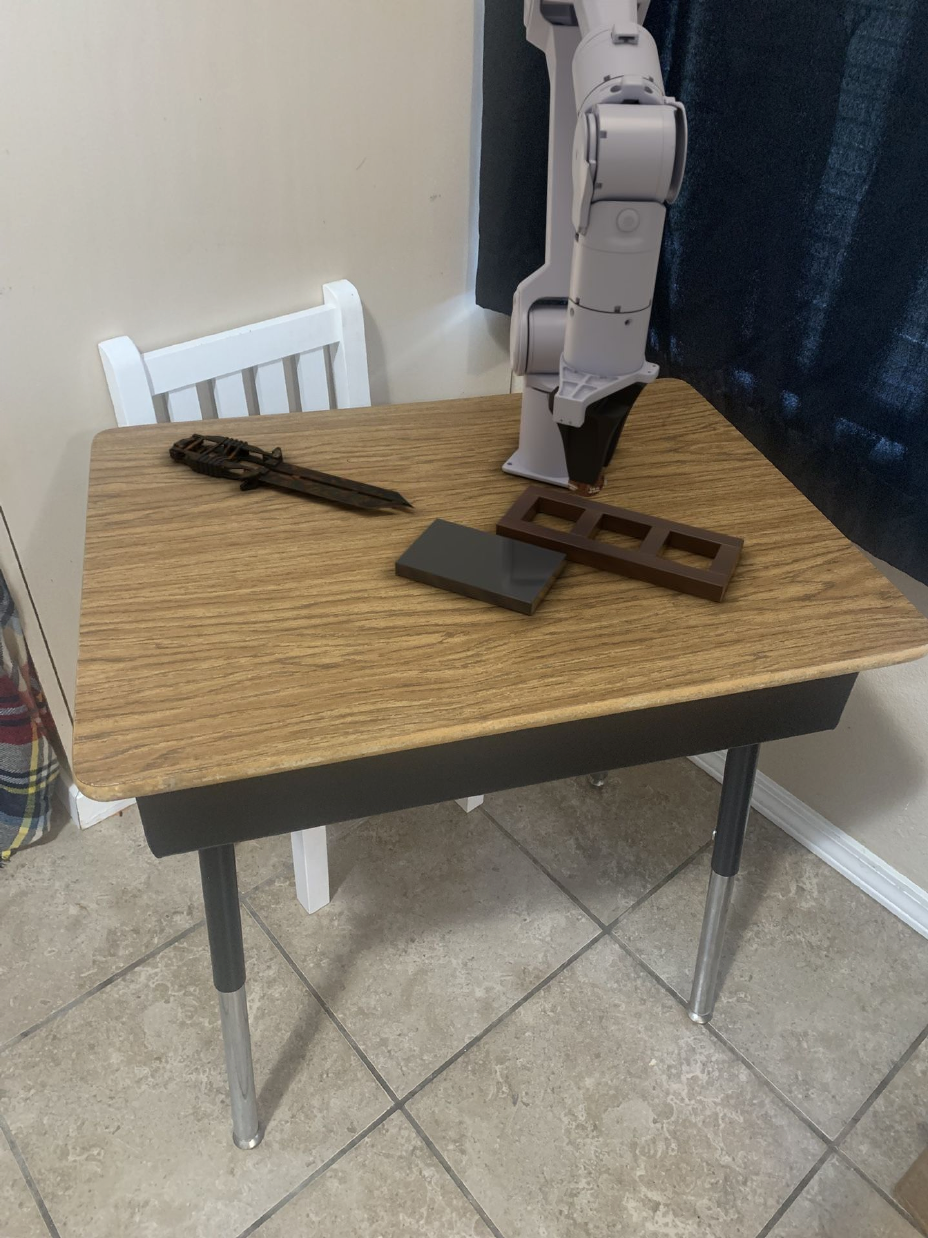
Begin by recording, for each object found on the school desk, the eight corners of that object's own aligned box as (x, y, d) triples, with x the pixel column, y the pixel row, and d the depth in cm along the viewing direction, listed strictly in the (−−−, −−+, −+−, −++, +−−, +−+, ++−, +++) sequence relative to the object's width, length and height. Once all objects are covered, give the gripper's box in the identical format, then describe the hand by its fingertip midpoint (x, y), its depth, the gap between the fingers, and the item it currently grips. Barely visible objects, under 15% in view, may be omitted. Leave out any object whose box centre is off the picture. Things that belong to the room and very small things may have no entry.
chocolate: (574, 507, 75) (579, 461, 73) (562, 493, 77) (567, 448, 75) (609, 501, 76) (615, 455, 74) (596, 487, 78) (602, 442, 75)
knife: (423, 507, 88) (423, 493, 87) (383, 541, 84) (383, 527, 83) (207, 435, 98) (205, 422, 97) (161, 462, 93) (159, 449, 92)
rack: (528, 498, 90) (529, 483, 89) (741, 554, 83) (744, 539, 82) (495, 539, 84) (496, 523, 83) (719, 602, 78) (723, 586, 77)
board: (436, 529, 85) (436, 517, 85) (565, 565, 81) (566, 554, 81) (394, 574, 80) (394, 562, 79) (531, 615, 76) (532, 603, 75)
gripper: (635, 346, 61) (609, 530, 69) (693, 276, 71) (664, 443, 80) (530, 325, 63) (517, 506, 71) (601, 260, 73) (582, 424, 82)
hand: (589, 471), depth 76 cm, fingers closed on chocolate, 2 cm apart
